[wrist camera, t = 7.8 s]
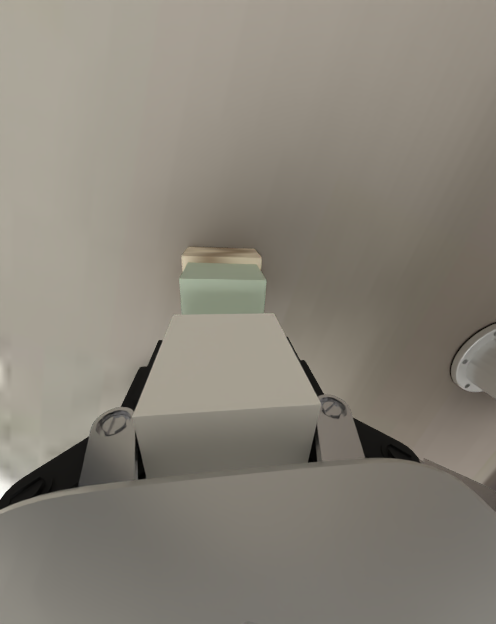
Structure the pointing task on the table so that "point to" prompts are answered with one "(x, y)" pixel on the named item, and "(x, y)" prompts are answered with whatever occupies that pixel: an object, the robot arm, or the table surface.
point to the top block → (224, 398)
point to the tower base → (220, 256)
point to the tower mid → (222, 289)
